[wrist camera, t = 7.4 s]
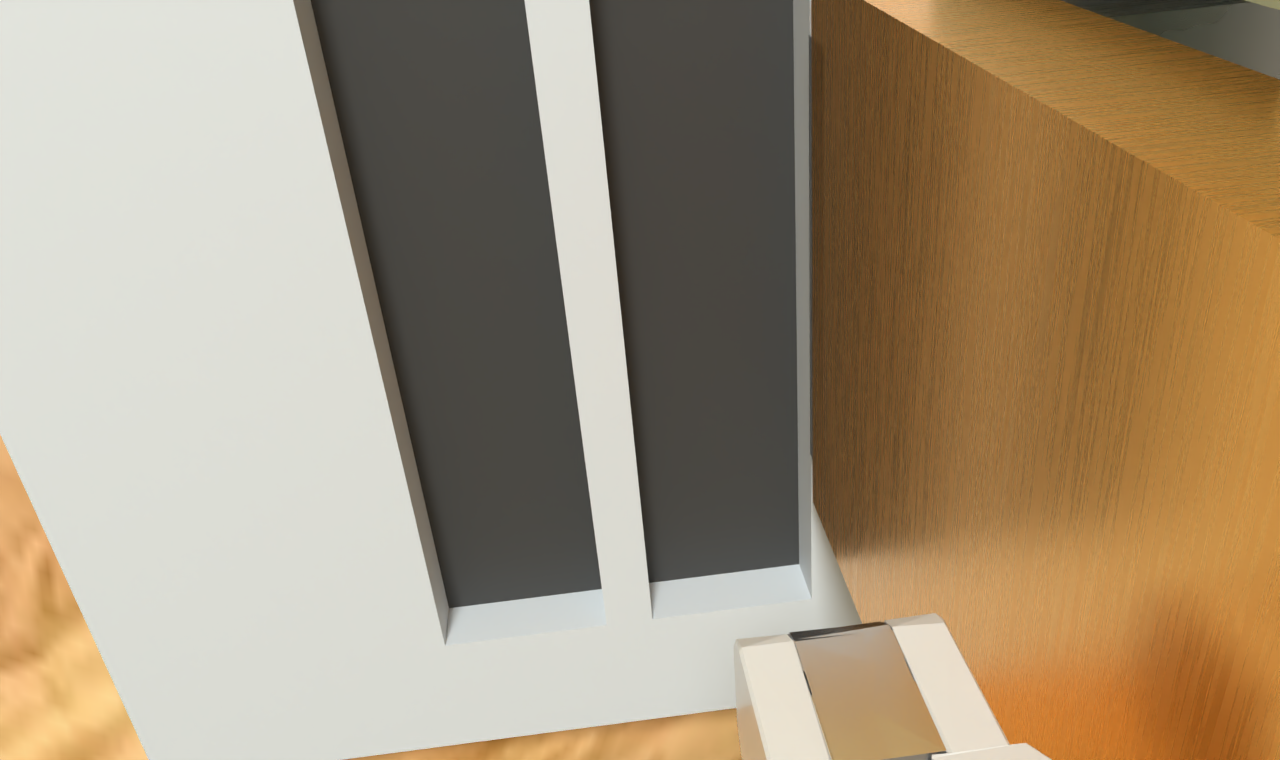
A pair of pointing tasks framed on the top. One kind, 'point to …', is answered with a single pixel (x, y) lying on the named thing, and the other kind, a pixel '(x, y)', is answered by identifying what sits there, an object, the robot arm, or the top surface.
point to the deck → (413, 358)
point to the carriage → (1057, 354)
